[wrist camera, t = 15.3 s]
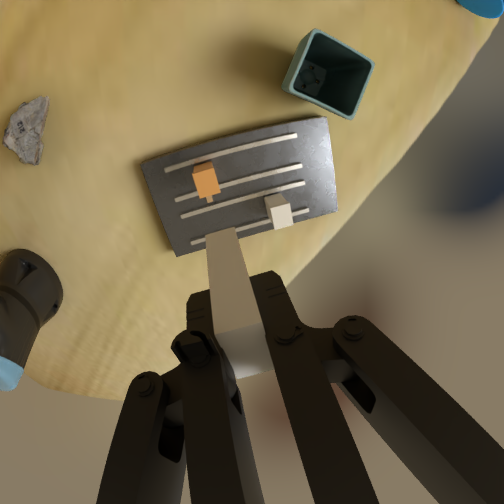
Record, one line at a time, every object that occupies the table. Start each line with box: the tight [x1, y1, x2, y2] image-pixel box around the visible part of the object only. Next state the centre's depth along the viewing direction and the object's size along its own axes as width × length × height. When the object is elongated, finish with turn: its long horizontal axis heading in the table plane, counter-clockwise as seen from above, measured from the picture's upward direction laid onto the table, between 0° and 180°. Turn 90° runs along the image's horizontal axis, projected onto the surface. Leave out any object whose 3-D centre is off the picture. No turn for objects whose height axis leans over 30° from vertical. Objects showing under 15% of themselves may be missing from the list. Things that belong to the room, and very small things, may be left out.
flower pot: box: [281, 29, 375, 120], centre depth 29 cm, size 9×9×9 cm
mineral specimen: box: [3, 96, 50, 166], centre depth 27 cm, size 10×8×10 cm
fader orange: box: [192, 161, 221, 199], centre depth 34 cm, size 3×3×4 cm
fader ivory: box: [264, 193, 293, 230], centre depth 38 cm, size 3×3×4 cm
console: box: [141, 116, 338, 257], centre depth 39 cm, size 26×15×3 cm, turn 103°
